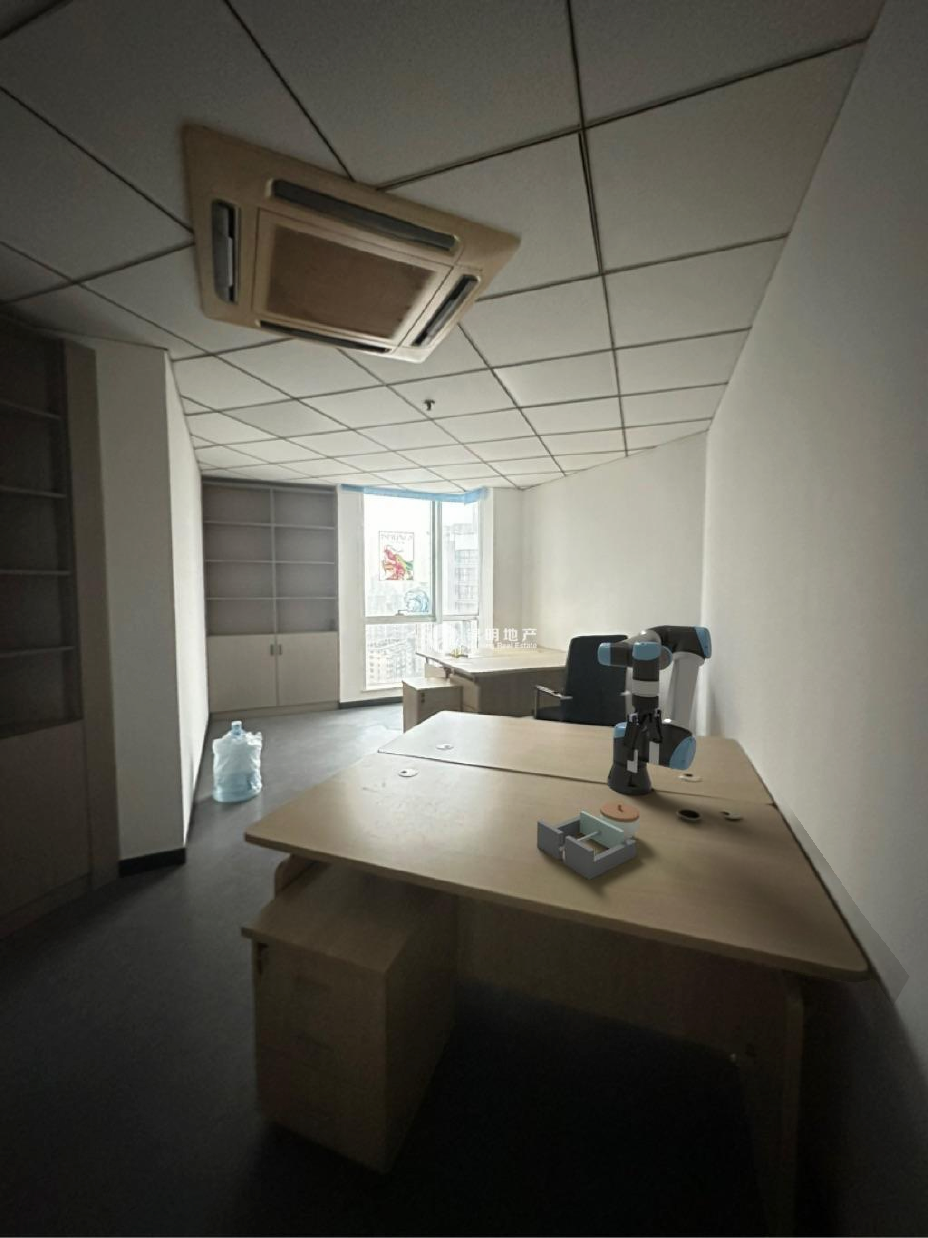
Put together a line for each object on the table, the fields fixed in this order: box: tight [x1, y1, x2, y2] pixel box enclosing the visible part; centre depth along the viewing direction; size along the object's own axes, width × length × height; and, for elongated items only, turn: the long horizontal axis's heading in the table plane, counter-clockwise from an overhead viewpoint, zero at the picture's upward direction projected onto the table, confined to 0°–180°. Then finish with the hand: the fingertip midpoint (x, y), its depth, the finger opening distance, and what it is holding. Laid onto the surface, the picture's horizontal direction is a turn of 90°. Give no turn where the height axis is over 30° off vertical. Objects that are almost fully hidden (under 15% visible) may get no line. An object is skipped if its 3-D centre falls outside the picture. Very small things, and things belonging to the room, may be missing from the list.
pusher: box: [559, 810, 624, 852], centre depth 121 cm, size 17×14×6 cm
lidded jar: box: [599, 801, 640, 842], centre depth 130 cm, size 11×11×9 cm
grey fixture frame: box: [536, 815, 637, 881], centre depth 122 cm, size 18×18×7 cm
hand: (643, 767), depth 136 cm, fingers open, 10 cm apart
